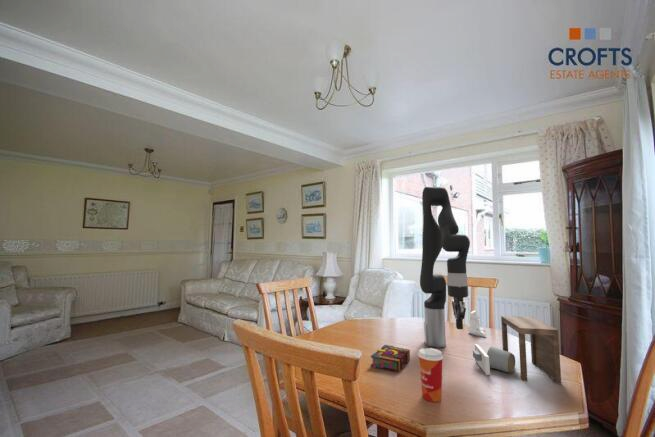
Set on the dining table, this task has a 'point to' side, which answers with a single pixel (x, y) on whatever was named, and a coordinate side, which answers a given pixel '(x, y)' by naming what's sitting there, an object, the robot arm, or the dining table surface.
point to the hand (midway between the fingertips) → (459, 328)
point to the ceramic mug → (501, 359)
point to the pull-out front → (482, 359)
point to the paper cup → (431, 373)
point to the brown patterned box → (390, 358)
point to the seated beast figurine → (476, 325)
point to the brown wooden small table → (535, 344)
